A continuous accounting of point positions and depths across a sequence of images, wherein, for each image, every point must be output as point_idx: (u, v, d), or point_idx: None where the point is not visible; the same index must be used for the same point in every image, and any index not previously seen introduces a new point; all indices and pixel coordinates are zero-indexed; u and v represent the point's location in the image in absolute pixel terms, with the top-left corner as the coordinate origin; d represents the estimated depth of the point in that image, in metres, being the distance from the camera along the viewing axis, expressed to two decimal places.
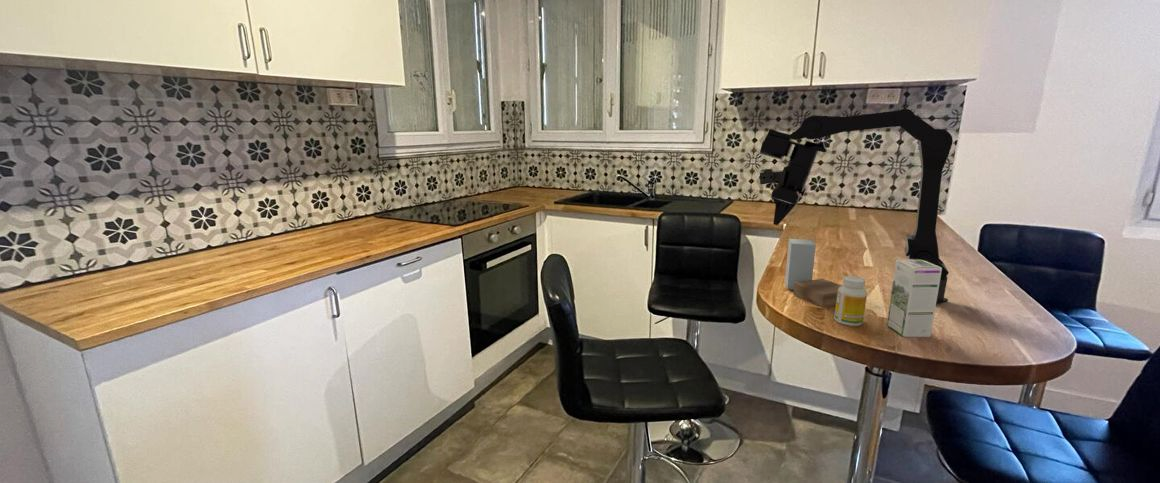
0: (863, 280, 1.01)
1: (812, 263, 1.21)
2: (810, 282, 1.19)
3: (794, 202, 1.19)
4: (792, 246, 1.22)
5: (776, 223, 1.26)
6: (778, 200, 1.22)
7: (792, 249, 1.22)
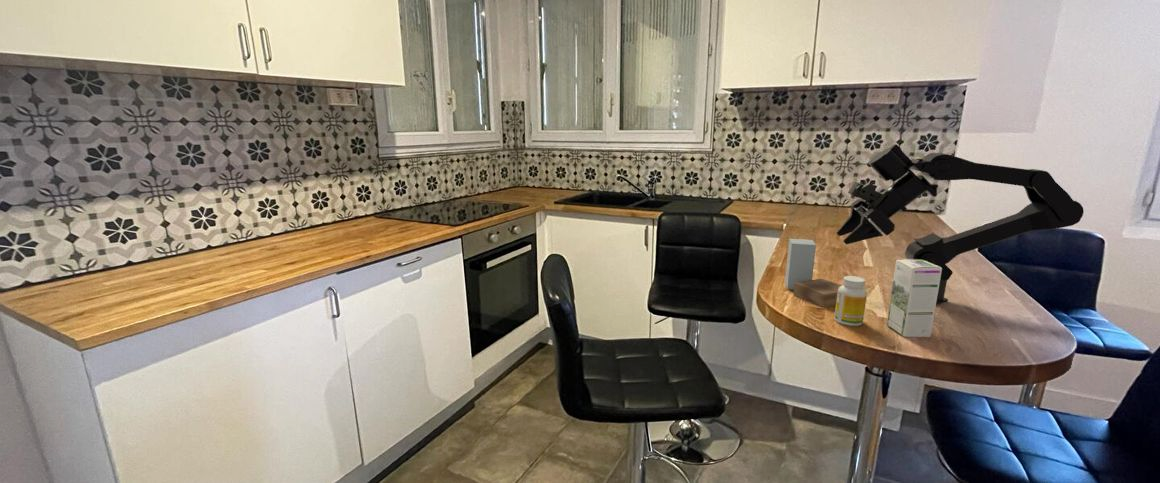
0: (863, 280, 1.01)
1: (812, 263, 1.21)
2: (810, 282, 1.19)
3: (887, 233, 1.08)
4: (792, 246, 1.22)
5: (846, 241, 1.15)
6: (870, 223, 1.10)
7: (792, 249, 1.22)
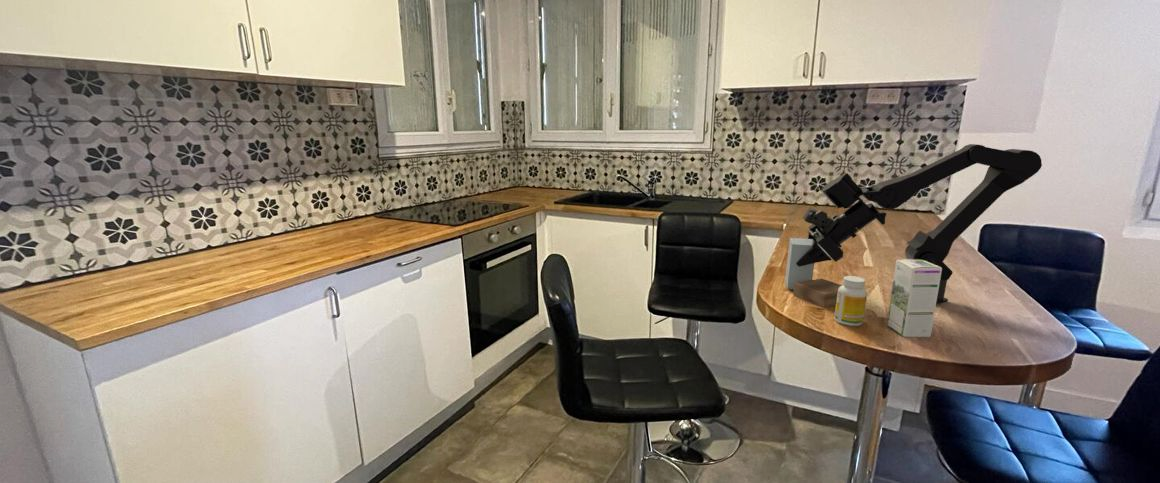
0: (863, 280, 1.01)
1: (812, 264, 1.21)
2: (810, 282, 1.19)
3: (836, 260, 1.13)
4: (793, 247, 1.21)
5: (799, 264, 1.21)
6: (819, 247, 1.16)
7: (793, 250, 1.21)
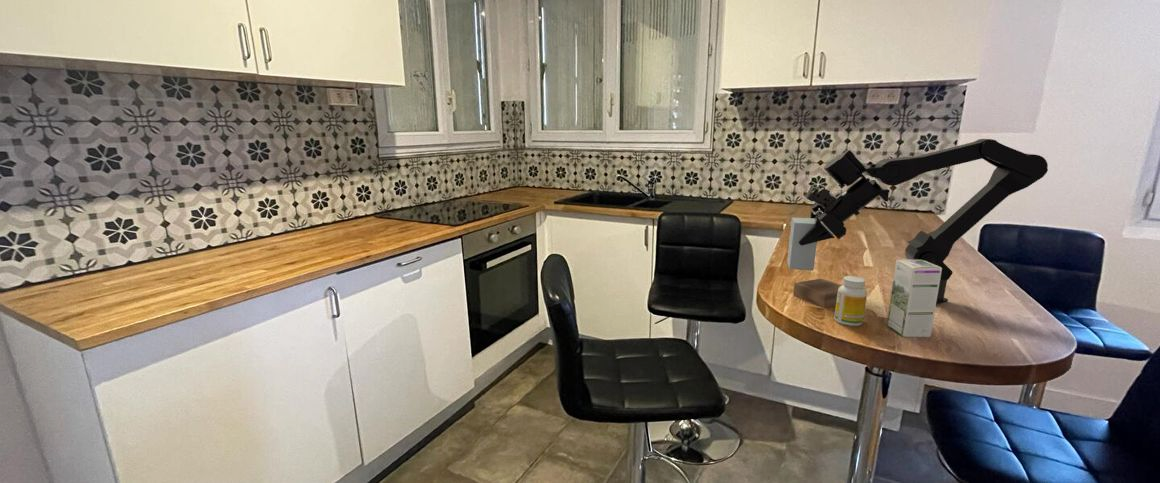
0: (863, 280, 1.01)
1: (815, 242, 1.19)
2: (810, 282, 1.19)
3: (839, 237, 1.12)
4: (795, 225, 1.20)
5: (801, 243, 1.20)
6: (822, 225, 1.15)
7: (795, 228, 1.20)
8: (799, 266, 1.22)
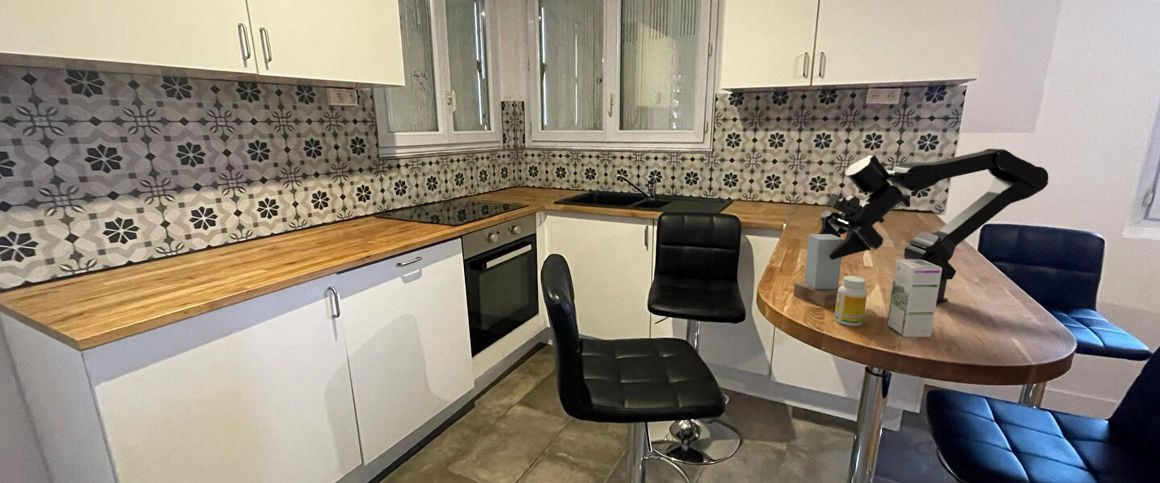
0: (863, 280, 1.01)
1: (839, 259, 1.13)
2: None
3: (876, 248, 1.05)
4: (819, 242, 1.12)
5: (832, 257, 1.11)
6: (859, 237, 1.06)
7: (819, 246, 1.13)
8: (824, 285, 1.15)
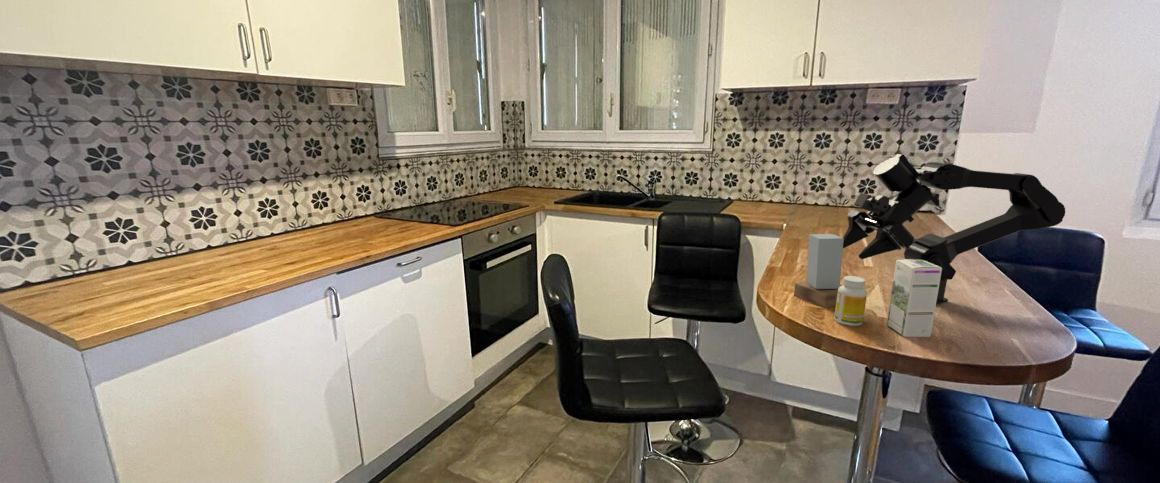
0: (863, 280, 1.01)
1: (840, 258, 1.13)
2: None
3: (907, 247, 1.05)
4: (819, 241, 1.12)
5: (861, 256, 1.10)
6: (890, 237, 1.06)
7: (820, 245, 1.13)
8: (825, 285, 1.14)
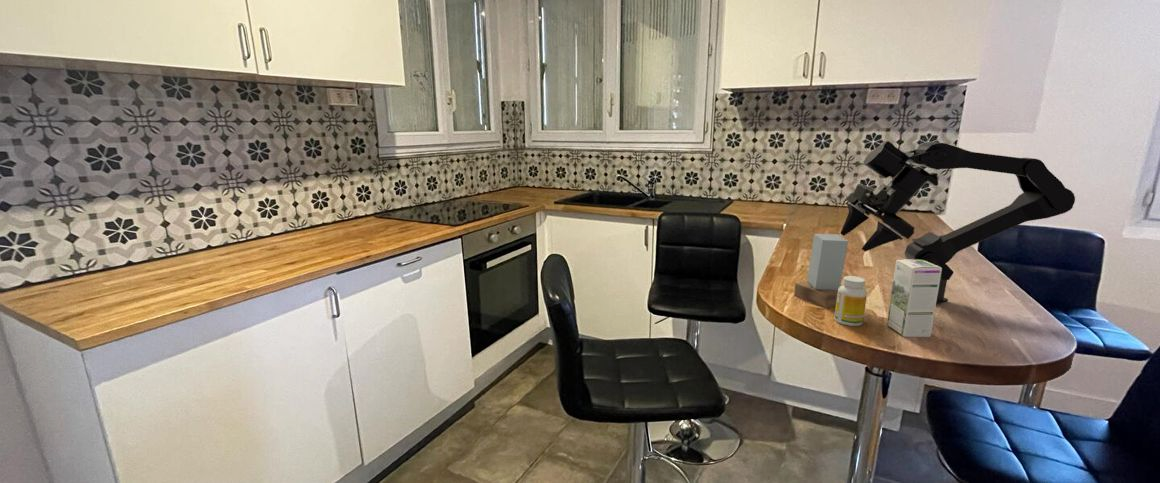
0: (863, 280, 1.01)
1: (843, 261, 1.12)
2: None
3: (908, 238, 1.08)
4: (823, 243, 1.12)
5: (865, 249, 1.14)
6: (891, 231, 1.08)
7: (823, 246, 1.12)
8: (825, 286, 1.14)
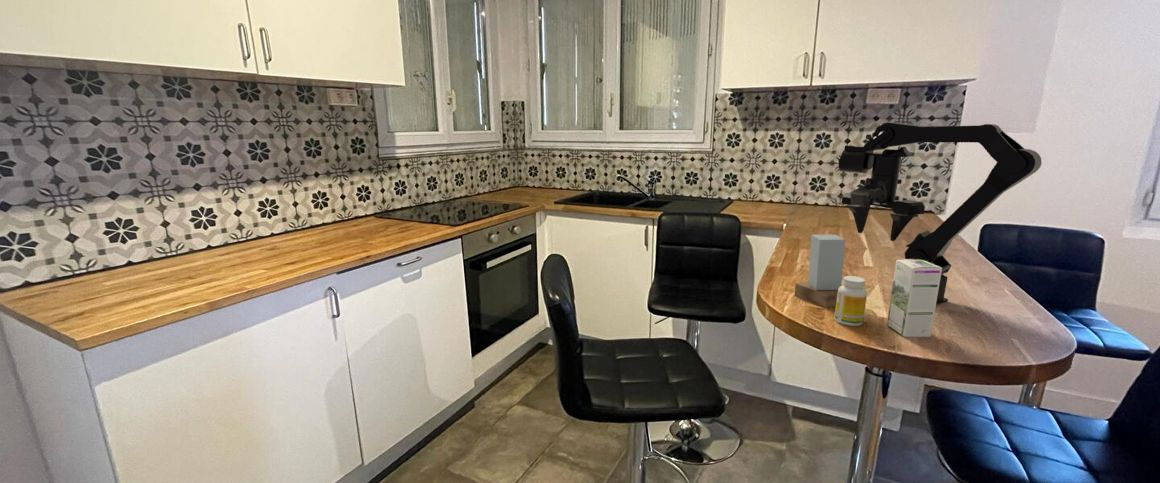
0: (863, 280, 1.01)
1: (842, 259, 1.12)
2: None
3: (923, 212, 1.15)
4: (820, 242, 1.12)
5: (893, 239, 1.19)
6: (907, 216, 1.15)
7: (820, 246, 1.12)
8: (826, 286, 1.14)
